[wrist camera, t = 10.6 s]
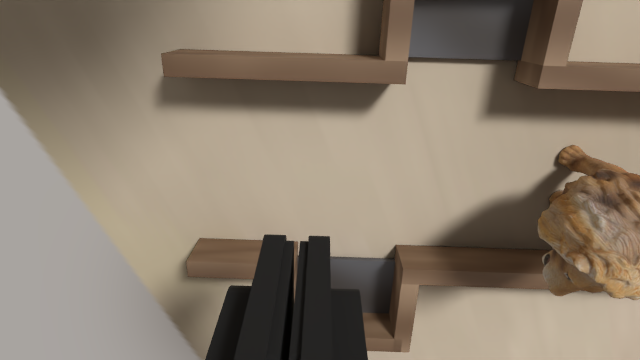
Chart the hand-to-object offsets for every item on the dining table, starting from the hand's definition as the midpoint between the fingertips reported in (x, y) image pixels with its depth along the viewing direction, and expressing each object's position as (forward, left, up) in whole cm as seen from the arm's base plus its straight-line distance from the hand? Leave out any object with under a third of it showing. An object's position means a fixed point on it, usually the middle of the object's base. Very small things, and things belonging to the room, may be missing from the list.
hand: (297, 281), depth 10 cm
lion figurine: (+3, +17, -13) cm, 21 cm away
